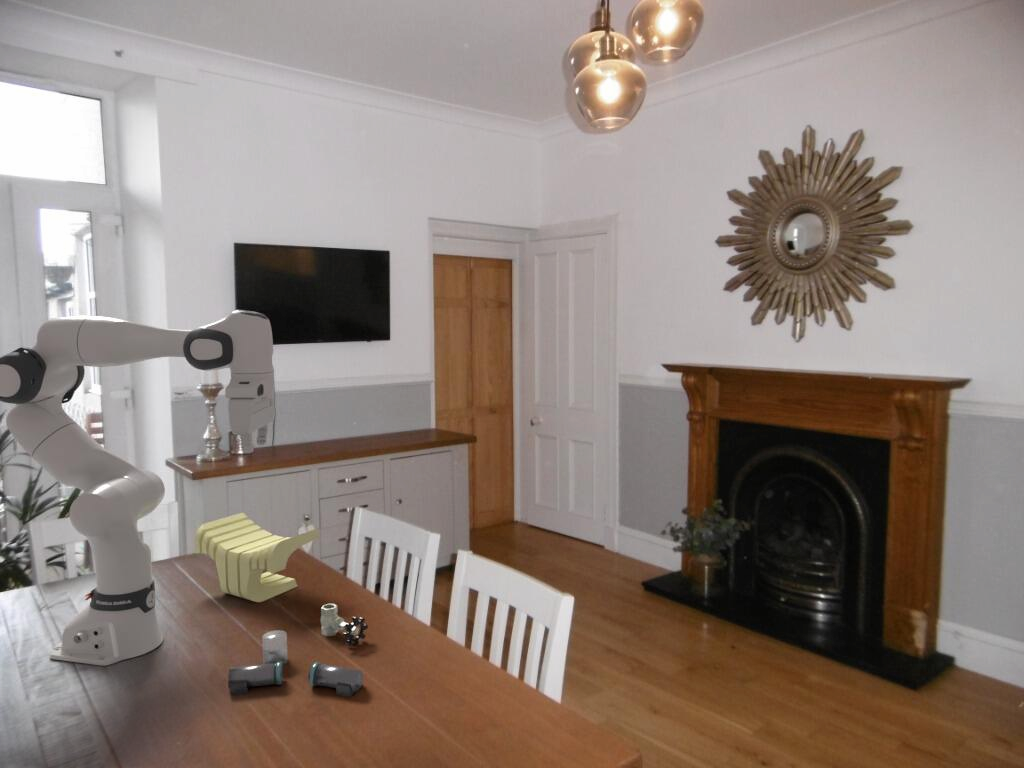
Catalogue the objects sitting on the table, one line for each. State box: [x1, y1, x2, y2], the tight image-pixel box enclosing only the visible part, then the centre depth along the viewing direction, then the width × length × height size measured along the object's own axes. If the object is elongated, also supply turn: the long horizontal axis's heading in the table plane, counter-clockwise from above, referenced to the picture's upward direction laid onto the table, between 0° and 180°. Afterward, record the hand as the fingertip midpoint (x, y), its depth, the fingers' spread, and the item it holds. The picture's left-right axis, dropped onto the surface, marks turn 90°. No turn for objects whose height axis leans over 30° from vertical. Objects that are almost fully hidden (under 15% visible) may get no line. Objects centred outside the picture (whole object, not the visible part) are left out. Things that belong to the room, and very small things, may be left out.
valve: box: [319, 603, 369, 646], centre depth 168 cm, size 7×7×12 cm
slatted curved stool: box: [194, 511, 319, 603], centre depth 195 cm, size 30×16×18 cm, turn 60°
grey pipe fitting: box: [227, 661, 284, 696], centre depth 146 cm, size 10×5×4 cm, turn 103°
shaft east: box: [307, 661, 364, 698], centre depth 146 cm, size 10×5×4 cm, turn 73°
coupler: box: [261, 629, 288, 666], centre depth 156 cm, size 5×5×6 cm
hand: (255, 448), depth 158 cm, fingers open, 8 cm apart
